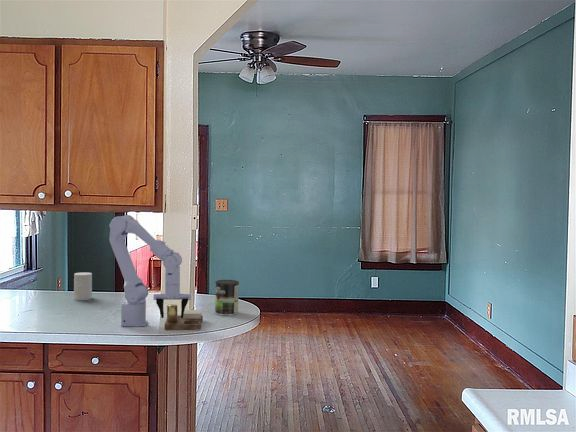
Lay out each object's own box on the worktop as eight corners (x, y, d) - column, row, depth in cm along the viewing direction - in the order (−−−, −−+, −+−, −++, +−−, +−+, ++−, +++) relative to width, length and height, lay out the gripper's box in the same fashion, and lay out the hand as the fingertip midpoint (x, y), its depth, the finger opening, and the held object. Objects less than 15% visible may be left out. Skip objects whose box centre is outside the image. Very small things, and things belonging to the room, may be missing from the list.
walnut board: (164, 329, 239) (164, 324, 239) (168, 320, 255) (168, 315, 255) (200, 329, 240) (200, 324, 240) (202, 320, 256) (202, 315, 256)
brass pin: (166, 322, 242) (166, 306, 242) (167, 320, 246) (167, 304, 246) (176, 322, 242) (176, 306, 242) (177, 320, 246) (177, 304, 246)
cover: (183, 318, 249) (183, 313, 249) (184, 314, 256) (184, 309, 256) (200, 318, 250) (200, 313, 250) (201, 314, 257) (201, 309, 256)
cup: (70, 299, 293) (70, 274, 292) (81, 296, 301) (80, 271, 300) (85, 300, 290) (85, 275, 290) (95, 297, 298) (95, 273, 297)
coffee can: (224, 317, 263) (225, 284, 262) (210, 312, 270) (210, 281, 269) (243, 313, 270) (243, 281, 269) (228, 309, 277) (229, 278, 277)
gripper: (152, 285, 239) (152, 320, 239) (190, 285, 240) (190, 319, 241) (154, 282, 246) (154, 315, 246) (191, 282, 247) (191, 315, 248)
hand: (172, 317), depth 244 cm, fingers open, 7 cm apart
